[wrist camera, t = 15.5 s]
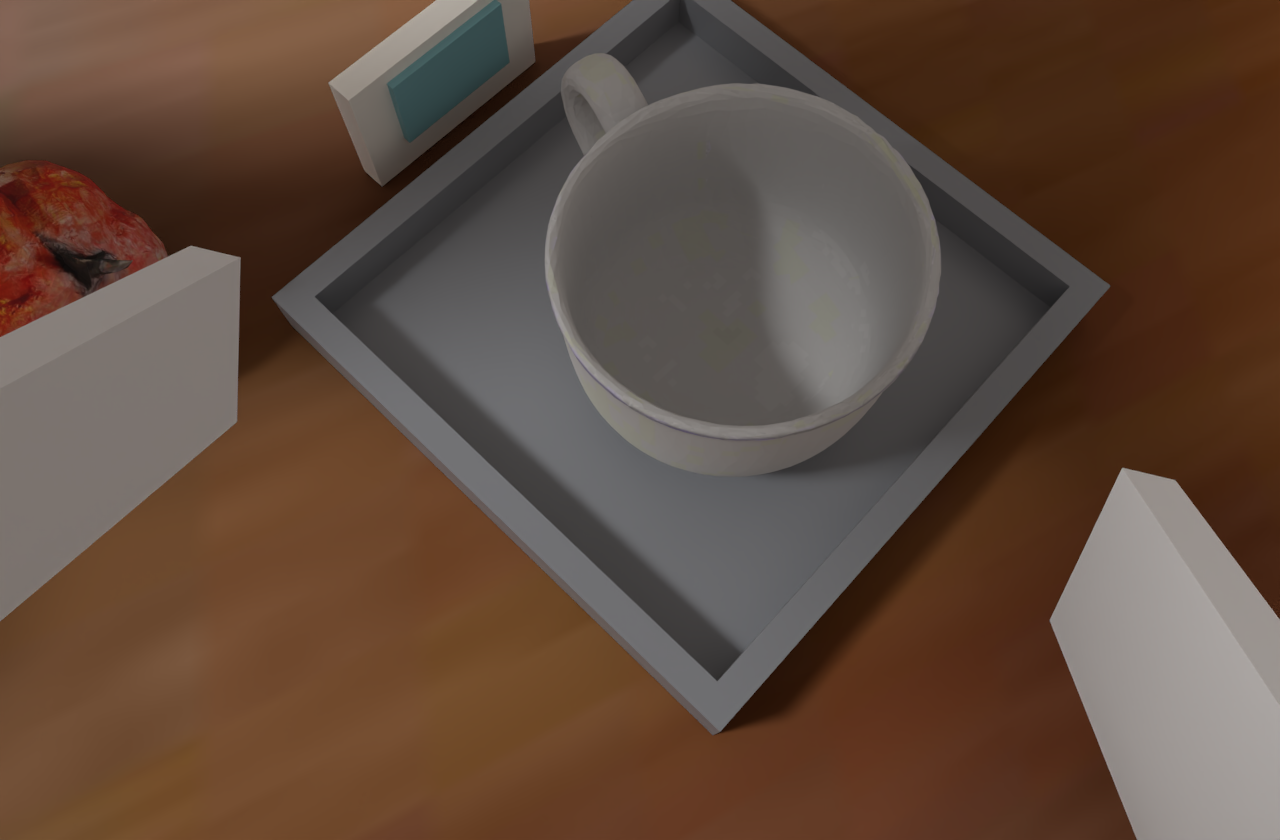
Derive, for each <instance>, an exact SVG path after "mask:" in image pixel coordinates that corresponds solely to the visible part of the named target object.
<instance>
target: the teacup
mask: <svg viewBox="0 0 1280 840" xmlns="http://www.w3.org/2000/svg"><path fill="white" fill-rule="evenodd" d="M561 96H562V100H563V105H564V109H565V113H566V116H567V119H568V122H569V124H570V127H571V129H572V132H573V134H574V136H575V138H576V140H577V142H578V144H579V146H580V148H581V150H582V152H583V155H584V156H583V158H582V159H581V160H580V161H579V162H578V163H577V165H576V166H575V167H574V169H573V170H572V171H571V172H570V174H569V176H568V178H567V180H566V182H565V184H564V186H563V188H562V190H561V191H560V193H559V195H558V197H557V200H556V203H555V206H554V208H553V211H552V214H551V217H550V220H549V224H548V229H547V235H546V242H545V279H546V286H547V291H548V294H549V297H550V301H551V306H552V310H553V313H554V316H555V318H556V321H557V324H558V326H559V328H560V330H561V332H562V334H563V337H564V340H565V343H566V346H567V349H568V353H569V356H570V358H571V361H572V364H573V366H574V369H575V371H576V373H577V376H578V378H579V380H580V382H581V384H582V386H583V388H584V390H585V392H586V394H587V395H588V397H589V399H590V400H591V402H592V403H593V405H594V406H595V408H596V409H597V410H598V412H599V413H600V414H601V415H602V417H603V418H604V419H605V420H606V421H607V422H608V423H609V424H610V426H611V427H612V428H613V429H615V430H616V431H617V432H618V433H619V434H620V435H621V436H622V437H623V438H624V439H625V440H627V441H628V442H629V443H631V444H632V445H633V446H635V447H636V448H638V449H639V450H641V451H642V452H644V453H646V454H647V455H649V456H651V457H653V458H655V459H657V460H659V461H661V462H663V463H666V464H668V465H670V466H673V467H676V468H679V469H683V470H686V471H690V472H694V473H698V474H702V475H710V476H722V477H744V476H753V475H761V474H766V473H771V472H775V471H778V470H781V469H785V468H788V467H791V466H793V465H796V464H798V463H801V462H803V461H805V460H807V459H809V458H811V457H813V456H815V455H816V454H818V453H820V452H822V451H823V450H825V449H826V448H828V447H829V446H831V445H832V444H833V443H835V442H836V441H837V440H839V439H840V438H841V437H842V436H844V435H845V434H846V433H847V432H848V431H849V430H850V429H851V428H852V427H853V426H854V425H855V424H856V423H857V422H858V421H859V420H860V419H861V418H862V417H863V416H864V415H865V414H866V412H867V411H868V410H869V409H870V408H871V407H872V405H873V404H874V403H875V402H876V401H877V399H878V398H879V397H880V395H881V394H882V392H883V391H884V390H886V389H887V388H888V387H889V386H890V385H891V384H892V383H893V382H894V381H895V380H896V379H897V378H898V376H899V375H900V374H901V373H902V372H903V371H904V370H905V368H906V367H907V366H908V364H909V363H910V361H911V360H912V358H913V357H914V355H915V354H916V352H917V351H918V349H919V348H920V346H921V345H922V341H923V339H924V337H925V335H926V333H927V331H928V328H929V325H930V322H931V319H932V316H933V313H934V311H935V308H936V301H937V297H938V294H939V281H940V276H941V249H940V241H939V235H938V231H937V226H936V221H935V218H934V216H933V213H932V210H931V207H930V204H929V200H928V198H927V196H926V194H925V192H924V190H923V188H922V186H921V184H920V182H919V181H918V180H917V178H916V177H915V175H914V173H913V171H912V170H911V168H910V167H909V165H908V164H907V162H906V161H905V160H904V158H903V157H902V156H901V154H900V153H899V152H898V151H897V150H896V149H894V148H892V146H891V145H890V144H889V142H888V141H887V140H886V139H885V137H883V136H881V135H880V134H878V133H876V132H875V131H874V130H873V129H872V128H871V127H870V126H868V125H866V124H865V123H864V122H863V121H862V120H861V119H860V118H859V117H858V116H856V115H853V114H851V113H849V112H848V111H846V110H845V109H843V108H841V107H839V106H838V105H836V104H834V103H832V102H830V101H827V100H825V99H823V98H821V97H817V96H814V95H811V94H807V93H804V92H800V91H797V90H793V89H790V88H786V87H779V86H773V85H766V84H759V83H755V84H743V83H732V84H722V85H714V86H709V87H703V88H699V89H695V90H691V91H687V92H683V93H679V94H677V95H674V96H671V97H668V98H665V99H662V100H659V101H657V102H654V103H652V104H650V105H648V104H647V102H646V100H645V98H644V96H643V94H642V93H641V91H640V89H639V87H638V85H637V84H636V82H635V80H634V79H633V77H632V76H631V75H630V73H629V72H628V71H627V69H626V68H625V67H624V66H623V65H622V64H621V63H620V62H619V61H618V60H617V59H616V58H614V57H613V56H611V55H608V54H604V53H595V54H592V55H589V56H586V57H584V58H582V59H581V60H579V61H577V62H575V63H574V64H573V65H572V66H571V67H570V68H569V69H568V70H567V71H566V73H565V74H564V76H563V78H562V82H561Z"/></svg>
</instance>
